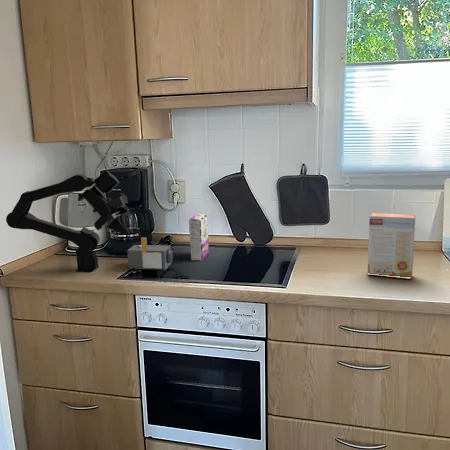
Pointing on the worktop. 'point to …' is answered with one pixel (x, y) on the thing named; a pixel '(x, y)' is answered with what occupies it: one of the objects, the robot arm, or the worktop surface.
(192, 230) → the candy bar box
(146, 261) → the side door
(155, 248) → the grey box with panel
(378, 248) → the cracker box
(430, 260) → the worktop surface
